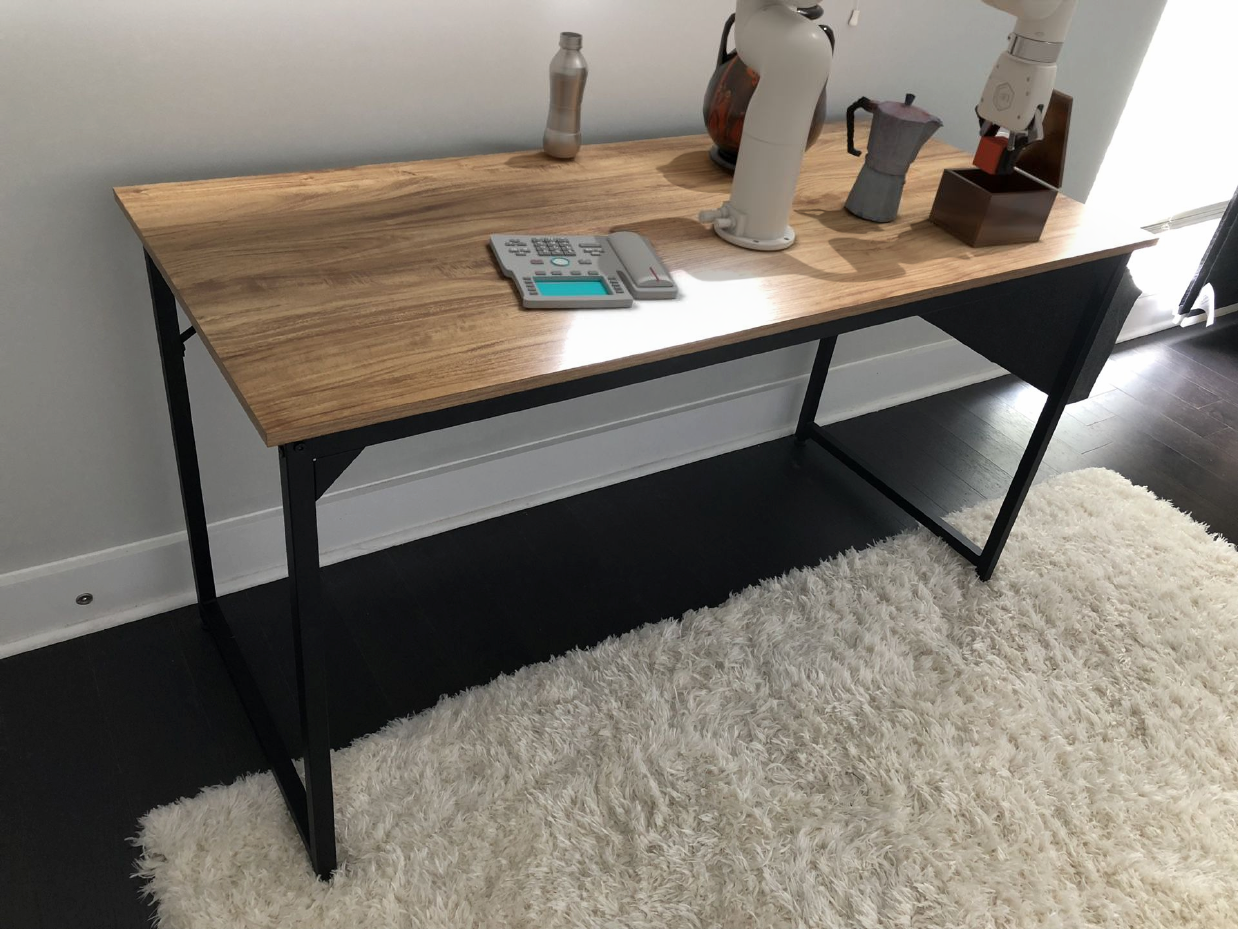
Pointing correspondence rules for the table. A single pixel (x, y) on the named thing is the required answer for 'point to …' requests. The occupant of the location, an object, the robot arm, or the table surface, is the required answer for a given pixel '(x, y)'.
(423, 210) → the table surface
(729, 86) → the amphora vase
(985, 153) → the block
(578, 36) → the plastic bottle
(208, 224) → the table surface
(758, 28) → the robot arm
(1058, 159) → the lid
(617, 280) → the office telephone
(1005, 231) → the box
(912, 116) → the moka pot
